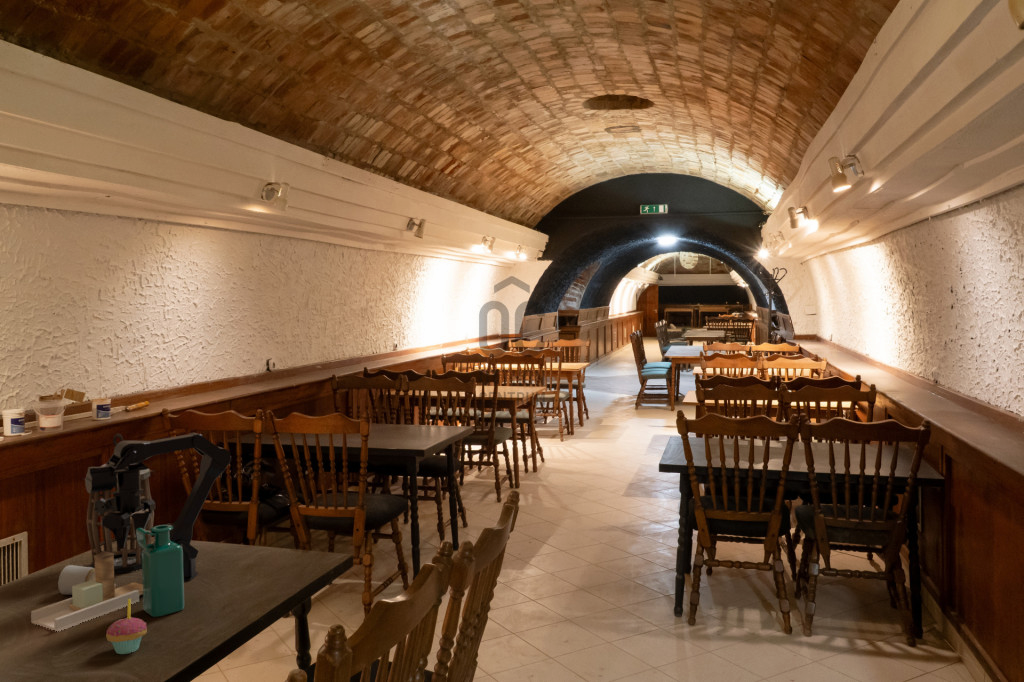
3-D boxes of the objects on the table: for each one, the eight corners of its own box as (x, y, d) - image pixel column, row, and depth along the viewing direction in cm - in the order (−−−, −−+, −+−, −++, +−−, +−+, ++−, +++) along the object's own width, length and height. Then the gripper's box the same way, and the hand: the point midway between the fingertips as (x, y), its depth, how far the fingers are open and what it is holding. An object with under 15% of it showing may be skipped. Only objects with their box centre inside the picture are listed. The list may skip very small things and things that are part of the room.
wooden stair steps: (134, 585, 223) (132, 541, 222) (151, 590, 219) (150, 545, 218) (69, 608, 207) (67, 560, 206) (87, 614, 203) (85, 565, 202)
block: (91, 599, 210) (90, 580, 210) (103, 602, 208) (102, 583, 208) (72, 605, 206) (72, 586, 206) (84, 609, 204) (83, 589, 203)
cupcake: (116, 642, 189) (114, 592, 188) (153, 641, 190) (152, 591, 189) (100, 659, 180) (98, 606, 180) (139, 657, 181) (138, 605, 180)
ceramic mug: (87, 599, 216) (86, 570, 216) (57, 598, 216) (56, 570, 216) (108, 585, 227) (108, 558, 226) (80, 585, 227) (79, 558, 227)
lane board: (113, 594, 219) (113, 583, 219) (139, 601, 214) (138, 590, 214) (31, 623, 200) (31, 611, 200) (57, 632, 195) (57, 620, 194)
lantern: (171, 557, 250) (167, 429, 248) (128, 578, 231) (123, 440, 229) (117, 553, 254) (113, 427, 252) (70, 573, 236) (65, 438, 233)
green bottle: (173, 600, 214) (171, 519, 213) (187, 609, 208) (184, 525, 207) (135, 611, 208) (133, 527, 206) (148, 620, 201) (145, 534, 200)
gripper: (117, 479, 230) (118, 533, 231) (80, 495, 212) (82, 553, 212) (155, 479, 230) (157, 533, 231) (122, 495, 211) (123, 554, 212)
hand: (130, 543), depth 222 cm, fingers open, 9 cm apart
